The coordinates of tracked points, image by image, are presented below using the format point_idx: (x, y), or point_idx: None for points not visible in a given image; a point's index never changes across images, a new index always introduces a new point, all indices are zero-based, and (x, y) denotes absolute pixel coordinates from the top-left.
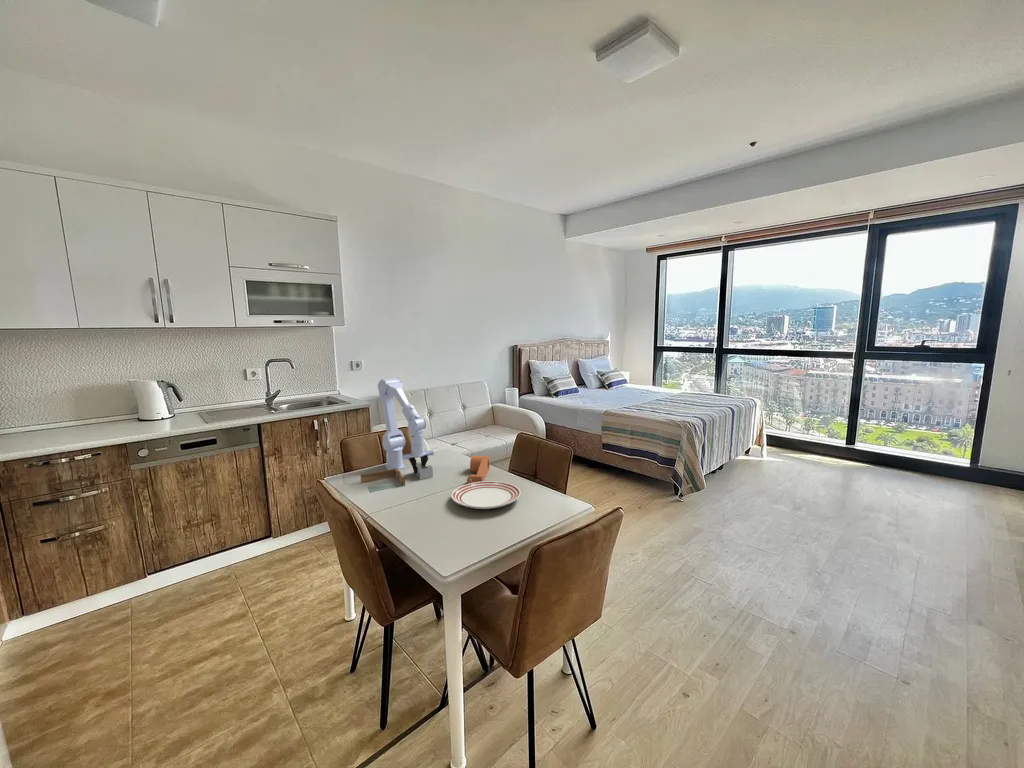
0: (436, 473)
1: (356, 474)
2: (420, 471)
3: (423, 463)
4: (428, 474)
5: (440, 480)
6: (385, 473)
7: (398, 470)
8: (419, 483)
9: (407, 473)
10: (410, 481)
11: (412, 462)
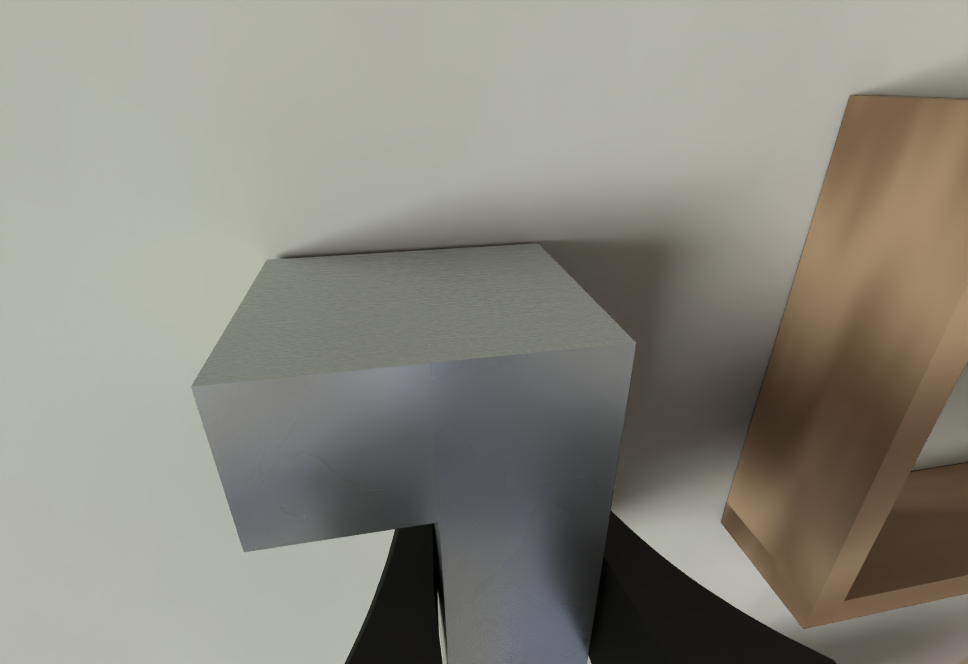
0: (165, 462)
1: (932, 652)
2: (590, 316)
3: (435, 642)
4: (362, 286)
5: (91, 8)
6: (931, 542)
7: (849, 543)
8: (596, 98)
9: None
10: (676, 287)
11: (805, 654)
